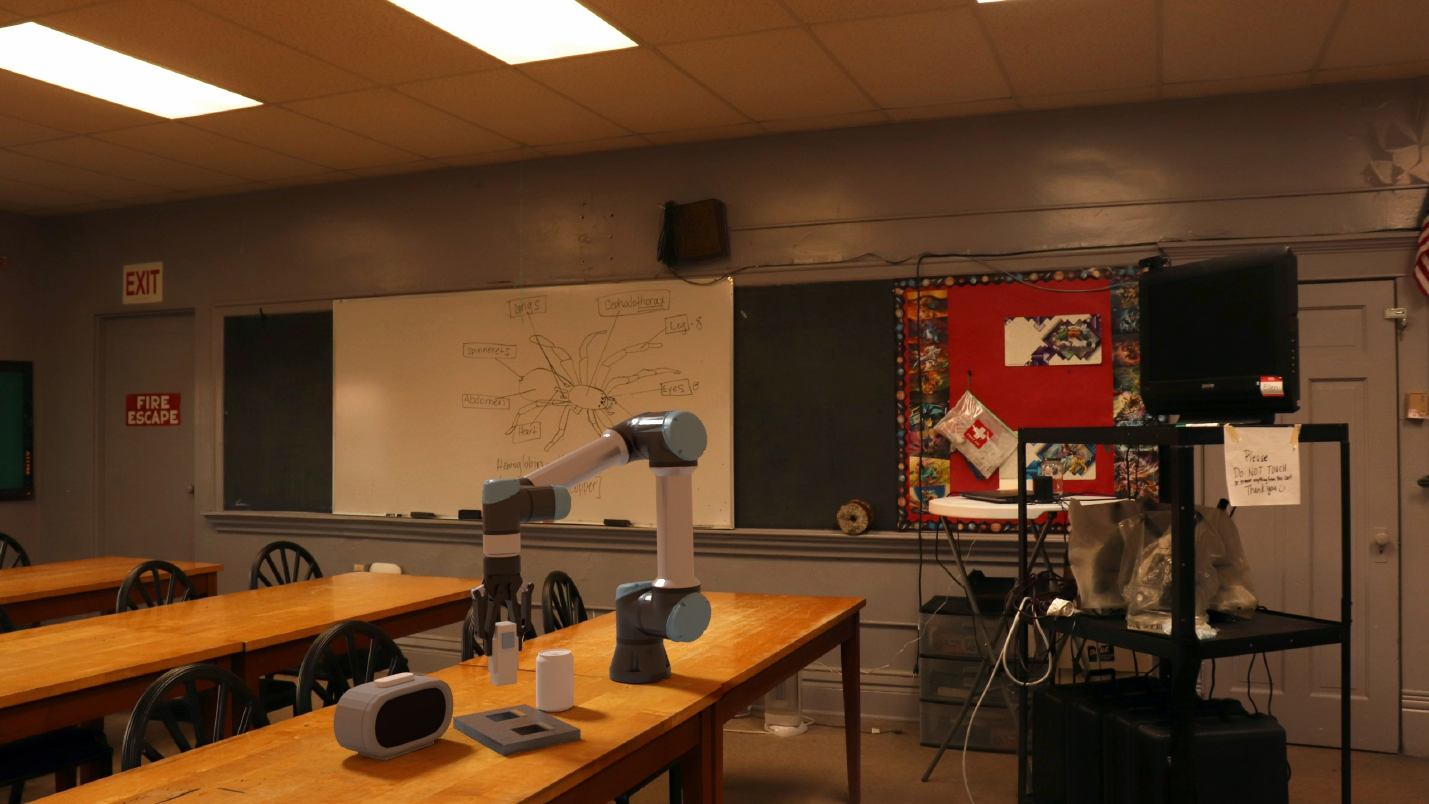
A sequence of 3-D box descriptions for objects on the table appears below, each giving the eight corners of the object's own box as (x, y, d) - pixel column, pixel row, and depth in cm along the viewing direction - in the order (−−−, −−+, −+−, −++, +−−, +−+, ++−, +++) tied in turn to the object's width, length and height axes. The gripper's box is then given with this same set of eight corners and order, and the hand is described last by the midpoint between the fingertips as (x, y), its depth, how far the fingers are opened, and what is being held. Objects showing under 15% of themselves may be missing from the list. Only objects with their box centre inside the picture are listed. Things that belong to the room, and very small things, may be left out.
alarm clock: (367, 768, 175) (368, 692, 176) (333, 760, 180) (333, 685, 181) (455, 738, 193) (455, 669, 193) (421, 731, 198) (421, 664, 198)
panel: (525, 713, 210) (525, 703, 210) (580, 739, 191) (580, 728, 191) (453, 727, 200) (453, 716, 200) (503, 756, 181) (503, 744, 181)
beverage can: (566, 714, 209) (566, 656, 210) (530, 712, 211) (530, 655, 211) (579, 704, 217) (578, 648, 218) (544, 702, 219) (544, 647, 219)
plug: (508, 679, 204) (507, 621, 204) (518, 683, 200) (517, 624, 200) (490, 682, 201) (489, 623, 202) (500, 687, 197) (499, 626, 198)
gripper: (531, 549, 210) (533, 660, 209) (454, 556, 200) (456, 673, 199) (548, 552, 204) (549, 666, 203) (469, 559, 194) (471, 680, 193)
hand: (503, 669), depth 201 cm, fingers closed on plug, 4 cm apart
